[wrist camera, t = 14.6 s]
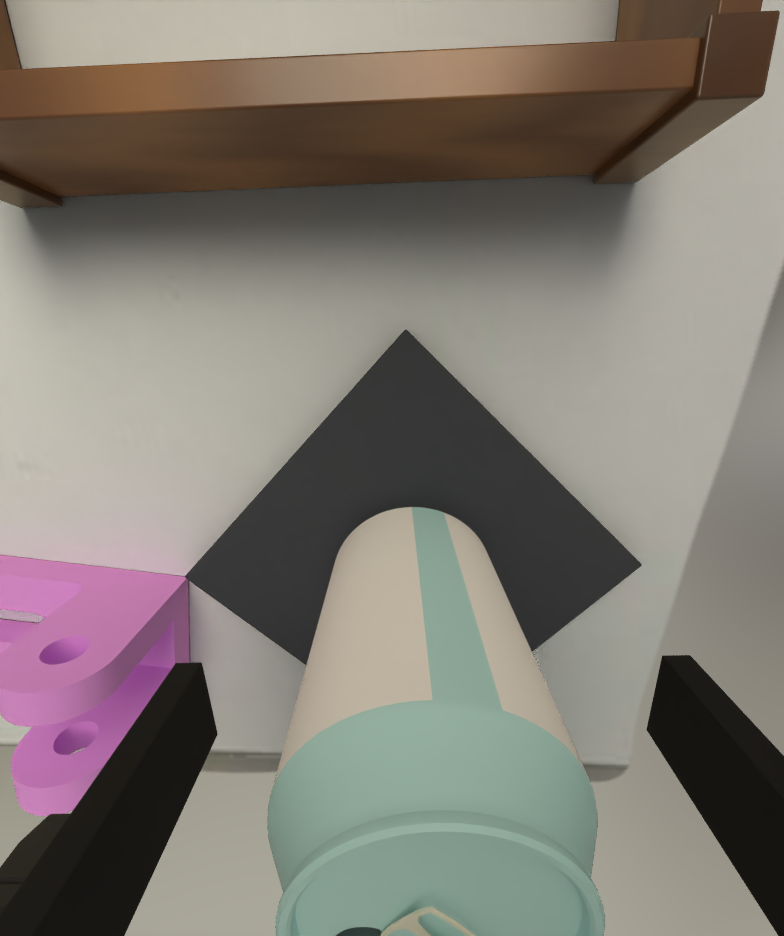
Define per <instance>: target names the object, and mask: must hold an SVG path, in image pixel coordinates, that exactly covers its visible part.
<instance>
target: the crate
mask: <svg viewBox="0 0 784 936" xmlns="http://www.w3.org/2000/svg"><path fill="white" fill-rule="evenodd" d="M762 1H763V0H620V6H619V16H618V26H617V36H616V41H609V42H588V43H567V44H546V45H524V46H503V47H482V48H460V49H439V50H418V51H397V52H375V53H354V54H333V55H311V56H290V57H269V58H248V59H226V60H205V61H184V62H162V63H141V64H120V65H99V66H77V67H56V68H35V69H21V67H20V63H19V59H18V55H17V51H16V47H15V43H14V39H13V35H12V31H11V27H10V23H9V18H8V14H7V10H6V6H5V2H4V0H0V200H2V201H4V202H7V203H10V204H12V205H15V206H18V207H20V208H29V207H53V206H62V202H61V197H65V196H89V195H112V194H136V193H160V192H184V191H208V190H232V189H256V188H280V187H304V186H328V185H352V184H376V183H400V182H424V181H448V180H472V179H496V178H519V177H543V176H567V175H591V174H594V181H593V183H594V184H606V183H630V182H637V181H639V180H640V179H642V178H643V177H645V176H646V175H648V174H649V173H651V172H652V171H654V170H655V169H657V168H658V167H659V166H661V165H662V164H664V163H665V162H667V161H668V160H670V159H671V158H673V157H674V156H676V155H677V154H679V153H680V152H681V151H683V150H684V149H686V148H687V147H689V146H690V145H692V144H693V143H695V142H696V141H698V140H699V139H701V138H702V137H703V136H705V135H706V134H708V133H709V132H711V131H712V130H714V129H715V128H717V127H718V126H720V125H721V124H723V123H724V122H725V121H727V120H728V119H730V118H731V117H733V116H734V115H736V114H737V113H739V112H740V111H742V110H743V109H745V108H746V107H747V106H749V105H750V104H752V103H753V102H755V101H756V100H758V99H759V98H761V97H762V96H763V94H764V91H765V86H766V81H767V76H768V71H769V65H770V60H771V55H772V50H773V45H774V40H775V35H776V29H777V24H778V19H779V14H780V13H779V11H761V6H762Z"/></svg>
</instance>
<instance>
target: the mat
mask: <svg viewBox="0 0 784 936" xmlns="http://www.w3.org/2000/svg"><path fill="white" fill-rule="evenodd" d="M404 507H422V508H429V509H434V510H438V511H441V512H444V513H446V514H449V515H451V516H453V517H455V518H457V519H458V520H460V521H461V522H463V523H464V524H466V525H467V526H468V527H469V528H470V529H471V530H472V531H473V532H474V533H475V534H476V535H477V536H478V538H479V539H480V540H481V542H482V544H483V545H484V547H485V549H486V551H487V553H488V556H489V558H490V560H491V562H492V565H493V567H494V569H495V571H496V573H497V576H498V578H499V580H500V582H501V585H502V587H503V589H504V591H505V593H506V596H507V598H508V600H509V602H510V605H511V607H512V609H513V611H514V613H515V616H516V618H517V620H518V622H519V625H520V627H521V629H522V631H523V633H524V636H525V638H526V640H527V642H528V645H529V647H530V649H531V651H533V650H535V649H536V648H537V647H539V646H540V645H541V644H542V643H544V642H545V641H546V640H547V639H549V638H550V637H551V636H553V635H554V634H555V633H556V632H558V631H559V630H560V629H561V628H563V627H564V626H565V625H567V624H568V623H569V622H570V621H572V620H573V619H574V618H575V617H577V616H578V615H579V614H581V613H582V612H583V611H584V610H586V609H587V608H588V607H589V606H591V605H592V604H593V603H595V602H596V601H597V600H598V599H600V598H601V597H602V596H603V595H605V594H606V593H607V592H608V591H610V590H611V589H612V588H614V587H615V586H616V585H617V584H619V583H620V582H621V581H622V580H624V579H625V578H626V577H628V576H629V575H630V574H631V573H633V572H634V571H635V570H636V569H638V568H639V567H640V566H641V563H640V562H639V561H638V560H637V559H636V558H635V557H634V556H633V555H632V554H631V553H630V552H629V551H628V550H627V549H626V548H625V547H624V546H623V545H622V544H621V543H620V542H619V541H618V540H617V539H616V538H615V537H614V536H613V535H612V534H611V533H610V532H609V531H608V530H607V529H606V528H605V527H604V526H603V525H602V524H601V523H600V522H599V521H598V520H597V519H596V518H595V517H594V516H593V515H592V514H591V513H590V512H589V511H588V510H587V509H586V508H585V507H584V506H583V505H582V504H581V503H580V502H579V501H578V500H577V499H576V498H575V497H574V496H573V495H572V494H571V493H570V492H569V491H568V490H567V489H566V488H565V487H564V486H563V485H562V484H561V483H560V482H559V481H558V480H557V479H556V478H555V477H554V476H553V475H552V474H551V473H550V472H549V471H548V470H547V469H546V468H545V467H544V466H543V465H542V464H541V463H540V462H539V461H538V460H537V459H536V458H535V457H534V456H533V455H532V454H531V453H530V452H529V451H528V450H527V449H525V448H524V447H523V446H522V445H521V444H520V443H519V442H518V441H517V440H516V439H515V438H514V437H513V436H512V435H511V434H510V433H509V432H508V431H507V430H506V429H505V428H504V427H503V426H502V425H501V424H500V423H499V422H498V421H497V420H496V419H495V418H494V417H493V416H492V415H491V414H490V413H489V412H488V411H487V410H486V409H485V408H484V407H483V406H482V405H481V404H480V403H479V402H478V401H477V400H476V399H475V398H474V397H473V396H472V395H471V394H470V393H469V392H468V391H467V390H466V389H465V388H464V387H463V386H462V385H461V384H460V383H459V382H458V381H457V380H456V379H455V378H454V377H453V376H452V375H451V374H450V373H449V372H448V371H447V370H446V369H445V368H444V367H443V366H442V365H441V364H440V363H439V362H438V361H437V360H436V359H435V358H434V357H433V356H432V355H431V354H430V353H429V352H428V351H427V350H426V349H425V348H424V347H423V346H422V345H421V344H420V343H419V342H418V341H417V340H416V339H415V338H414V337H413V336H412V335H411V334H410V333H409V332H408V331H407V330H405V331H404V332H403V333H402V334H401V335H400V336H399V337H398V338H397V339H396V341H395V342H394V343H393V344H392V345H391V346H390V347H389V348H388V350H387V351H386V352H385V353H384V354H383V355H382V356H381V357H380V359H379V360H378V361H377V362H376V363H375V364H374V365H373V366H372V367H371V369H370V370H369V371H368V372H367V373H366V374H365V375H364V376H363V378H362V379H361V380H360V381H359V382H358V383H357V384H356V385H355V387H354V388H353V389H352V390H351V391H350V392H349V393H348V394H347V396H346V397H345V398H344V399H343V400H342V401H341V402H340V403H339V404H338V406H337V407H336V408H335V409H334V410H333V411H332V412H331V413H330V415H329V416H328V417H327V418H326V419H325V420H324V421H323V422H322V424H321V425H320V426H319V427H318V428H317V429H316V430H315V431H314V432H313V434H312V435H311V436H310V437H309V438H308V439H307V440H306V441H305V443H304V444H303V445H302V446H301V447H300V448H299V449H298V450H297V452H296V453H295V454H294V455H293V456H292V457H291V458H290V459H289V460H288V462H287V463H286V464H285V465H284V466H283V467H282V468H281V469H280V471H279V472H278V473H277V474H276V475H275V476H274V477H273V478H272V480H271V481H270V482H269V483H268V484H267V485H266V486H265V487H264V488H263V490H262V491H261V492H260V493H259V494H258V495H257V496H256V497H255V499H254V500H253V501H252V502H251V503H250V504H249V505H248V506H247V508H246V509H245V510H244V511H243V512H242V513H241V514H240V515H239V517H238V518H237V519H236V520H235V521H234V522H233V523H232V524H231V525H230V527H229V528H228V529H227V530H226V531H225V532H224V533H223V534H222V536H221V537H220V538H219V539H218V540H217V541H216V542H215V543H214V545H213V546H212V547H211V548H210V549H209V550H208V551H207V552H206V553H205V555H204V556H203V557H202V558H201V559H200V560H199V561H198V562H197V564H196V565H195V566H194V567H193V568H192V569H191V570H190V571H189V573H188V574H187V575H186V576H185V578H187V579H188V580H189V581H191V582H192V583H193V584H195V585H196V586H198V587H199V588H200V589H202V590H203V591H205V592H206V593H207V594H209V595H210V596H211V597H213V598H214V599H216V600H217V601H218V602H220V603H221V604H223V605H224V606H225V607H227V608H228V609H229V610H231V611H232V612H234V613H235V614H236V615H238V616H239V617H241V618H242V619H243V620H245V621H246V622H247V623H249V624H250V625H252V626H253V627H254V628H256V629H257V630H259V631H260V632H261V633H263V634H264V635H265V636H267V637H268V638H270V639H271V640H272V641H274V642H275V643H277V644H278V645H279V646H281V647H282V648H283V649H285V650H286V651H288V652H289V653H290V654H292V655H293V656H295V657H296V658H297V659H299V660H300V661H301V662H303V663H304V664H306V665H307V661H308V658H309V654H310V650H311V647H312V643H313V640H314V636H315V632H316V629H317V625H318V621H319V618H320V614H321V611H322V607H323V603H324V600H325V596H326V592H327V589H328V585H329V582H330V578H331V574H332V571H333V567H334V563H335V560H336V557H337V554H338V552H339V550H340V548H341V546H342V544H343V543H344V541H345V540H346V538H347V537H348V536H349V535H350V534H351V533H352V531H353V530H354V529H356V528H357V527H358V526H359V525H360V524H362V523H363V522H365V521H366V520H368V519H369V518H371V517H373V516H375V515H377V514H380V513H382V512H385V511H388V510H392V509H397V508H404Z"/></svg>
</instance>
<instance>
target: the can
mask: <svg viewBox="0 0 784 936" xmlns="http://www.w3.org/2000/svg"><path fill="white" fill-rule="evenodd" d="M597 827H598V819H597V809H596V803H595V797H594V792H593V789H592V786H591V783H590V780H589V778H588V776H587V773H586V771H585V769H584V767H583V764H582V762H581V760H580V758H579V756H578V753H577V751H576V749H575V747H574V744H573V742H572V740H571V738H570V736H569V733H568V731H567V729H566V727H565V724H564V722H563V720H562V718H561V716H560V713H559V711H558V709H557V707H556V705H555V702H554V700H553V698H552V696H551V693H550V691H549V689H548V687H547V685H546V682H545V680H544V678H543V676H542V673H541V671H540V669H539V667H538V665H537V662H536V660H535V658H534V656H533V653H532V651H531V649H530V647H529V645H528V642H527V640H526V638H525V636H524V633H523V631H522V629H521V627H520V625H519V622H518V620H517V618H516V616H515V613H514V611H513V609H512V607H511V605H510V602H509V600H508V598H507V596H506V593H505V591H504V589H503V587H502V585H501V582H500V580H499V578H498V576H497V573H496V571H495V569H494V567H493V565H492V562H491V560H490V558H489V556H488V553H487V551H486V549H485V547H484V545H483V544H482V542H481V540H480V539H479V538H478V536H477V535H476V534H475V533H474V532H473V531H472V530H471V529H470V528H469V527H468V526H467V525H466V524H464V523H463V522H461V521H460V520H458V519H457V518H455V517H453V516H451V515H449V514H446V513H444V512H441V511H438V510H434V509H429V508H422V507H404V508H397V509H392V510H388V511H385V512H382V513H380V514H377V515H375V516H373V517H371V518H369V519H368V520H366V521H365V522H363V523H362V524H360V525H359V526H358V527H357V528H356V529H354V530H353V531H352V533H351V534H350V535H349V536H348V537H347V538H346V540H345V541H344V543H343V544H342V546H341V548H340V550H339V552H338V554H337V557H336V560H335V563H334V567H333V571H332V574H331V578H330V582H329V585H328V589H327V592H326V596H325V600H324V603H323V607H322V611H321V614H320V618H319V621H318V625H317V629H316V632H315V636H314V640H313V643H312V647H311V650H310V654H309V658H308V661H307V665H306V669H305V672H304V676H303V679H302V683H301V687H300V690H299V694H298V698H297V701H296V705H295V708H294V712H293V716H292V719H291V723H290V727H289V730H288V734H287V737H286V741H285V745H284V748H283V752H282V756H281V759H280V763H279V766H278V770H277V774H276V777H275V781H274V785H273V788H272V792H271V795H270V801H269V806H268V837H269V843H270V847H271V851H272V854H273V858H274V861H275V865H276V868H277V872H278V875H279V879H280V882H281V886H282V889H283V894H282V897H281V899H280V902H279V906H278V911H277V916H276V927H275V928H276V936H604V930H605V914H604V909H603V904H602V901H601V899H600V896H599V893H598V890H597V888H596V886H595V885H594V883H593V881H592V879H591V873H592V866H593V858H594V850H595V843H596V835H597Z"/></svg>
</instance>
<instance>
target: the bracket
mask: <svg viewBox="0 0 784 936" xmlns="http://www.w3.org/2000/svg"><path fill="white" fill-rule="evenodd" d="M0 609H5V610H14V611H23V612H31V613H36V614H38V615H41V616H42V617H44V618H45V619H44V620H42V621H41V622H40V623H30V622H21V621H12V620H3V619H0V714H1V715H2V717H3V718H4V719H5V720H6V721H8V722H10V723H12V724H15V725H19V726H27V727H32V728H31V729H30V730H29V732H28V733H27V734H26V735H25V736H24V737H23V738H22V740H21V741H20V742H19V744H18V746H17V747H16V749H15V751H14V753H13V756H12V760H11V772H12V776H13V781H14V786H15V792H16V796H17V800H18V803H19V805H20V806H21V808H23V810H25V811H26V812H28V813H30V814H33V815H38V816H49V815H50V814H64V813H67V812H70V811H73V810H74V808H75V807H76V805H77V804H78V803H79V801H80V800H81V798H82V797H83V795H84V794H85V793H86V791H87V790H88V788H89V787H90V785H91V784H92V783H93V781H94V780H95V778H96V777H97V775H98V774H99V772H100V771H101V770H102V768H103V767H104V765H105V764H106V762H107V761H108V760H109V758H110V757H111V755H112V754H113V752H114V751H115V749H116V748H117V747H118V745H119V744H120V742H121V741H122V739H123V738H124V737H125V735H126V734H127V732H128V731H129V729H130V728H131V726H132V725H133V724H134V722H135V721H136V719H137V718H138V716H139V715H140V714H141V712H142V711H143V709H144V708H145V706H146V705H147V703H148V702H149V701H150V699H151V698H152V696H153V695H154V693H155V692H156V691H157V689H158V688H159V686H160V685H161V683H162V682H163V680H164V679H165V678H166V676H167V675H168V673H169V672H170V670H171V669H172V668H173V666H174V665H175V663H190V652H189V602H188V579H187V578H185V577H184V576H175V575H167V574H158V573H149V572H141V571H132V570H124V569H115V568H107V567H98V566H89V565H81V564H72V563H64V562H55V561H46V560H38V559H29V558H21V557H12V556H4V555H0ZM84 747H86V748H84ZM81 748H84V749H83V750H81V751H79V752H76V753H74V754H71V753H73V752H75V751H76V750H79V749H81Z"/></svg>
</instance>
